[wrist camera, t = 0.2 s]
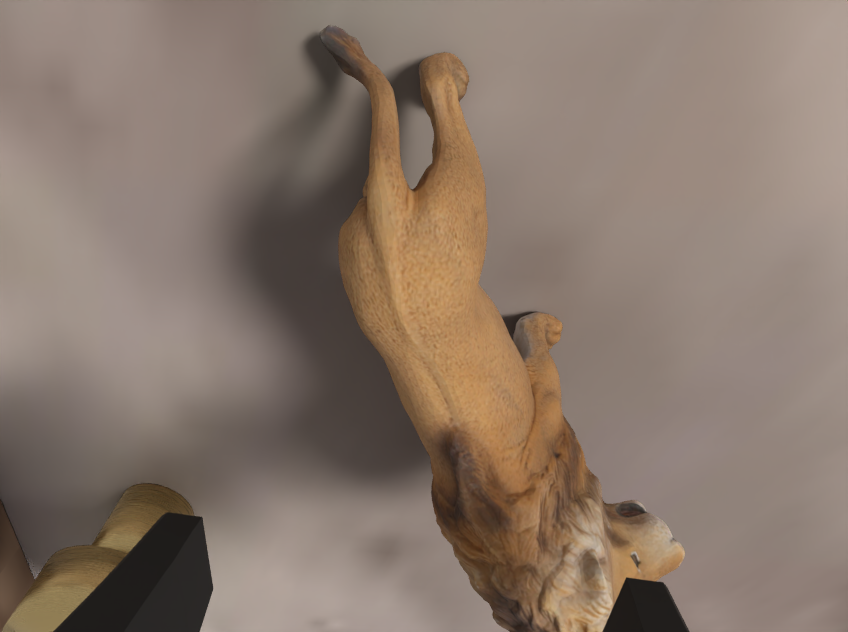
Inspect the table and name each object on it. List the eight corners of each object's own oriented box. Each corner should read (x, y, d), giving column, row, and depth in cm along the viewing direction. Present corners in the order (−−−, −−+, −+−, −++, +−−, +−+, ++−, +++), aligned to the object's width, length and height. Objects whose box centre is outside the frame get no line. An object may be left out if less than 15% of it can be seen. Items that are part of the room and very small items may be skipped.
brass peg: (222, 553, 28) (160, 703, 23) (110, 538, 28) (24, 682, 23) (211, 475, 25) (137, 624, 20) (87, 458, 25) (-18, 602, 20)
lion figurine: (649, 400, 21) (729, 679, 14) (503, 450, 23) (505, 719, 16) (417, -37, 15) (334, 41, 7) (243, 82, 17) (37, 239, 9)
